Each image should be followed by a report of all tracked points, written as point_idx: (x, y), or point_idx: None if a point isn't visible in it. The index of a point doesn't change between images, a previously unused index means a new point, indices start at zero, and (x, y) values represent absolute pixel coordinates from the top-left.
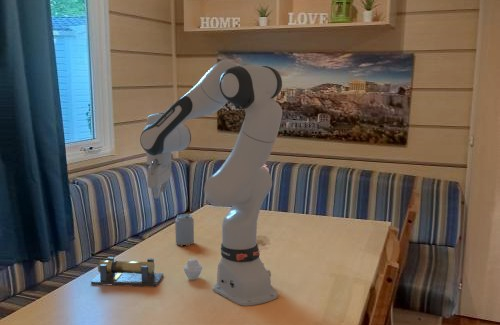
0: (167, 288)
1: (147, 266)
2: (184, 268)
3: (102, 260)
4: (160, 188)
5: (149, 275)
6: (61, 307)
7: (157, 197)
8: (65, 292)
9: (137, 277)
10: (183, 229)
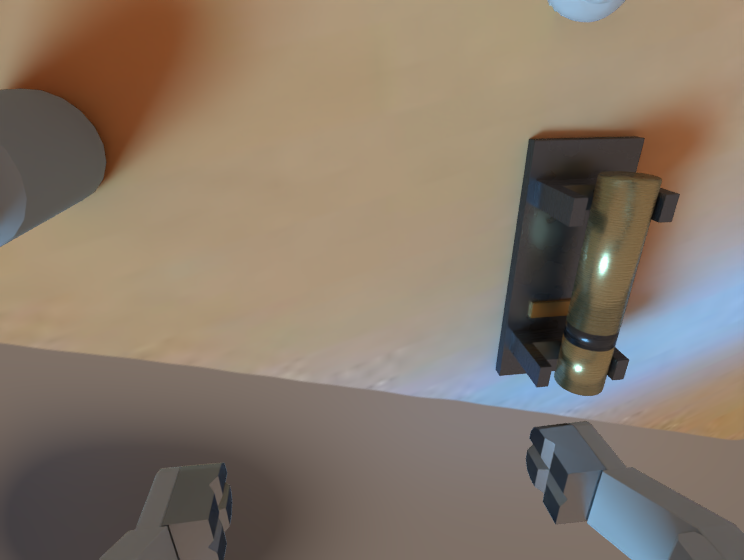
0: (658, 82)
1: (672, 195)
2: (610, 13)
3: (590, 388)
4: (223, 557)
5: None
6: (721, 365)
7: (588, 434)
8: (626, 399)
9: (567, 235)
10: (52, 160)
